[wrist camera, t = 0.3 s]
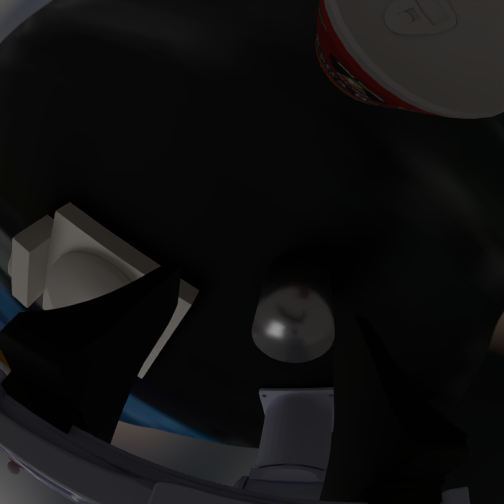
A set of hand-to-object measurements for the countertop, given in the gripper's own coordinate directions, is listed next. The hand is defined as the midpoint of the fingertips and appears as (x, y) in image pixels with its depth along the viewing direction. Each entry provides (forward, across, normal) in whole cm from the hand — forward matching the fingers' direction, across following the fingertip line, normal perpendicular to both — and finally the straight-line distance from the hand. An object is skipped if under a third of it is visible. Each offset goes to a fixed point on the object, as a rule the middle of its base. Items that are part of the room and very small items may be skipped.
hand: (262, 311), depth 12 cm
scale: (+10, +15, +12) cm, 22 cm away
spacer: (+10, -2, +4) cm, 11 cm away
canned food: (+10, -3, -13) cm, 17 cm away
